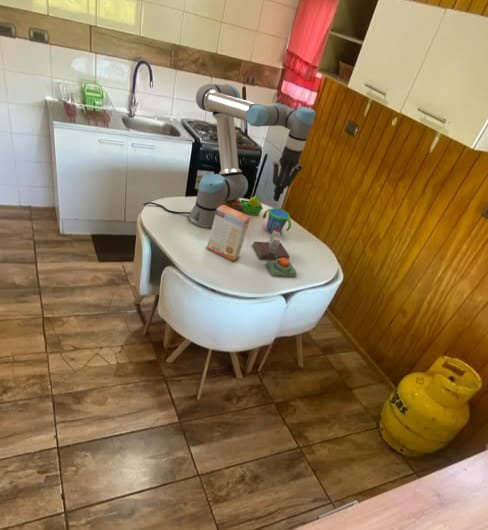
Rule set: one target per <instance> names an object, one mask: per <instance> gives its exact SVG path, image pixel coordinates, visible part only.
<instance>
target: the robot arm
mask: <svg viewBox="0 0 488 530" xmlns="http://www.w3.org/2000/svg"><path fill="white" fill-rule="evenodd" d="M195 103H196V105H197V107H198V108H199V109H201V110H202V111H205V112H208V113H212V118H213V119H214V120H215V121H216V130H217V139H218V151H219V162H220V172H219V173H206V174H203V176H202V177H201V179H200V182H199V184H198V190H197V195H196V199H195V204H194V206H193V207H192V209H191V210H190V212H189V211H175V210H170V209H168V208H166V207H165V206H164V205H162V204H159V203H157V202H151V201H149V202H144V203H143V204H142V205H143V206H146V205H154V206H158V207H161V208H162V209H164V210H165V211H166V212H168V213H172V214H180V215H182V214H183V215H184V214H185V215H188V219H189V221H190V222H191V223H192V224H193V225H195V226H197V227H200V228H204V229H212V226H213V222H214V218H215V214H216V210H217V208H218V207H219V204H220V202H222V201H228V200H236V199H239V200H240V199H242V198H243V197H245V195H246V194H247V191H248V189H249V183H248V179H247V177H246V176H244V175H243V170H241V169H240V167H239V158H238V148H237V136H236V123H235V119H238V120H241V121H243V122H247V123H248V125H249V126H251V127H258V128H259V127H283V128H285V129H287V130H289V132H288V135H287V138H286V141H285V143H284V144H285V146H284V147H283V150H282V153H281V157H280V158H279V159H278V161H273V162H272V165H273V170H272V171H273V172H272V184H273V185H274V189H273V193H274V194H273V197H272V199H273V200H274V202H279V200H280V198H281V195H282V194H284V190H285V189H287V187H288V188H289V187H290V186H291V185H292V184H293V182H294V180H295V179H296V177H297V175H298V174H299V172H300V171H301V170H302V169H303V166H302V165H301V164H300V159H301V156H302V154H303V150H304V148H305V146H306V142H307V140H308V137H309V134H310V132H311V129H312V127H313V125H314V121H315V117H316V114H317V113H316V111H315V110H314V109H312V108H309V107H306V106H298V107H297V108H296V109H295V108H292V107H291V106H288V105H286V104H284V103H280V102H276V103H274V104H273V105H264V104H260V103H257V102H253V101H249V100H247V99H242V98H241V94H240V91H239V89H238V88H237V87H235V86H234V85H230V84H215V83H207V84H203V85H202V86H200V87H199V88H198V89H197V92H196V95H195ZM132 259H135V252H132Z"/></svg>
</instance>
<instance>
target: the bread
mask: <svg viewBox="0 0 488 530" xmlns="http://www.w3.org/2000/svg"><path fill="white" fill-rule="evenodd" d="M222 205H226V206H228V207H230V208H232V209H234V210H237V211H239V212H241V213H242V209H243V206H242V203H241V199H240V198H239V199H236V200H228V201H222V202H220V204H219V207H220V206H222Z"/></svg>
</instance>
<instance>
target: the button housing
mask: <svg viewBox="0 0 488 530" xmlns="http://www.w3.org/2000/svg"><path fill="white" fill-rule="evenodd" d="M266 261H267V262H266V264H265V265H266V268H267V269H268V270H269V273H270V275H271V276H272V277H293V278H294V277H296V276H297V273H298V272H297V270H296V269H295V267H294V266H293V265H292V263H291V262H289V265H288V267H283V266H281V265H279V264H278V262H279V259H276V260H266Z"/></svg>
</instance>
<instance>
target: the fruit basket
mask: <svg viewBox="0 0 488 530" xmlns="http://www.w3.org/2000/svg"><path fill="white" fill-rule="evenodd" d="M259 199H260V198H259V196H257V195H256V196H253V197H250V198H249V200H246V199H240V201H241V203H242V206H243V209H242V213H243V214H246V215H250V216H251V215H252V216H259V214H260V213H261V211H262V210H264V209H263V206H262V204H261V202H260V200H259Z"/></svg>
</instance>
